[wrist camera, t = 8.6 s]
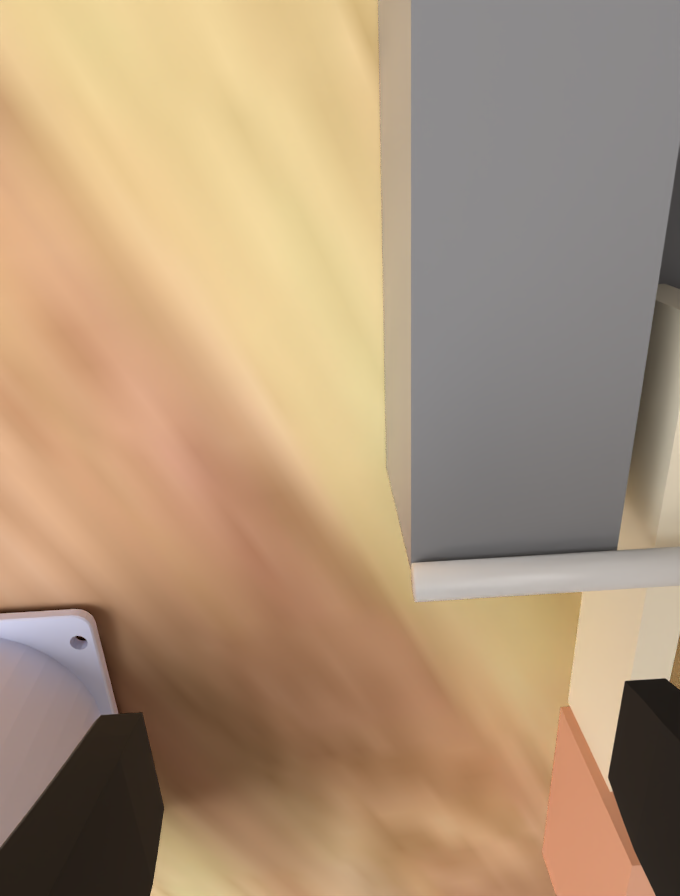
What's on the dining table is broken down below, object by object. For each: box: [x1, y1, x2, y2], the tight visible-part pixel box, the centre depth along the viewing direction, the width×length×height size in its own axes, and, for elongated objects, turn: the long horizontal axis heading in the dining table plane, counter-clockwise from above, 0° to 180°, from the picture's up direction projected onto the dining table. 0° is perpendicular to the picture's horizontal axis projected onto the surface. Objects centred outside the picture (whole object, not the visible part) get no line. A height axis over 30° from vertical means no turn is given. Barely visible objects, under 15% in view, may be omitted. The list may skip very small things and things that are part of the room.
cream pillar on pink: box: [542, 284, 680, 896], centre depth 17 cm, size 20×2×5 cm, turn 3°
